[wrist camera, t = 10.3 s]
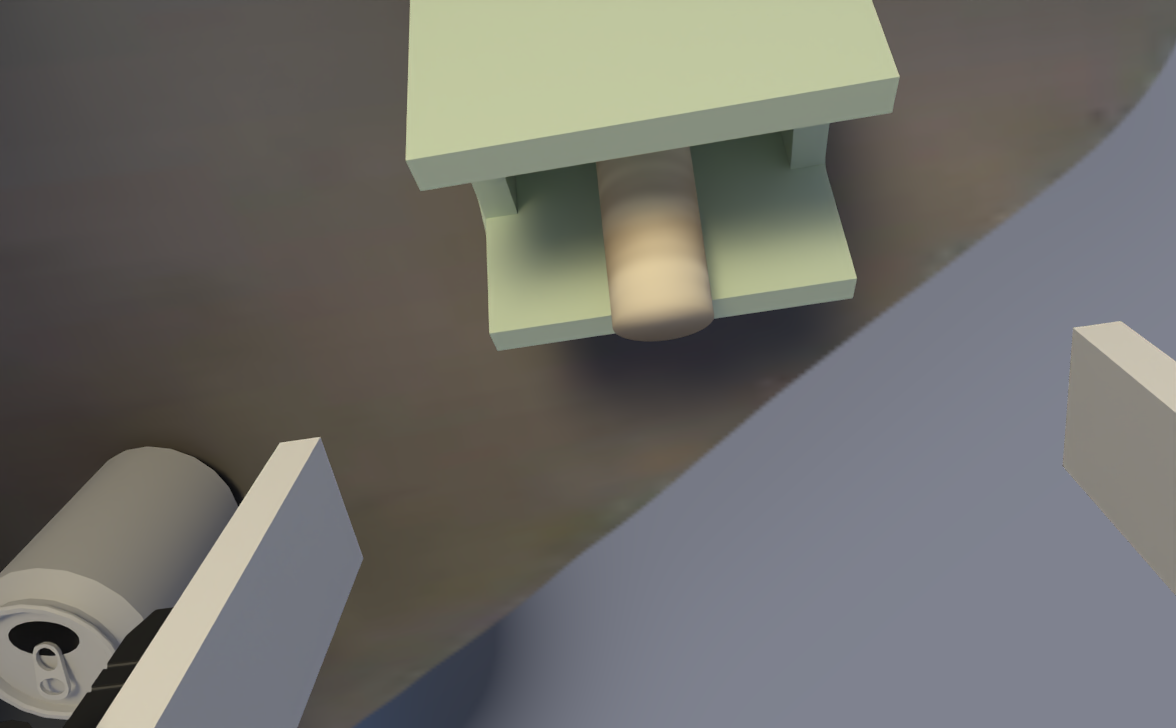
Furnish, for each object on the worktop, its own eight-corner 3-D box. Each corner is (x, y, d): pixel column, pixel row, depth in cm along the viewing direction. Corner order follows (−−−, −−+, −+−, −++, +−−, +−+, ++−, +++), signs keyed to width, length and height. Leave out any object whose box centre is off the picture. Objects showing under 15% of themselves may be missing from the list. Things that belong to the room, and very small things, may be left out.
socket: (418, -126, 33) (281, -176, 19) (788, -200, 32) (933, -312, 18) (506, 267, 40) (452, 444, 26) (813, 219, 39) (933, 377, 25)
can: (228, 434, 44) (106, 594, 33) (259, 553, 48) (157, 733, 37) (83, 439, 45) (-84, 599, 34) (124, 557, 48) (-16, 737, 37)
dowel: (574, -9, 30) (606, 309, 26) (667, -26, 30) (713, 295, 26) (588, 51, 33) (618, 346, 29) (672, 38, 33) (714, 333, 29)
